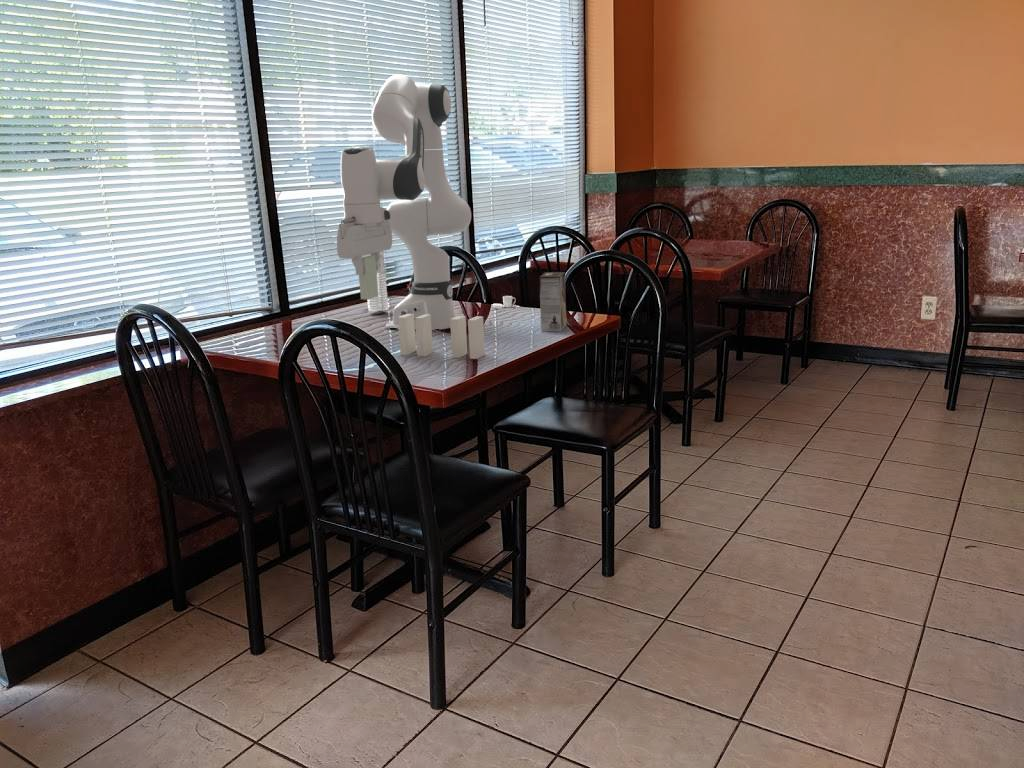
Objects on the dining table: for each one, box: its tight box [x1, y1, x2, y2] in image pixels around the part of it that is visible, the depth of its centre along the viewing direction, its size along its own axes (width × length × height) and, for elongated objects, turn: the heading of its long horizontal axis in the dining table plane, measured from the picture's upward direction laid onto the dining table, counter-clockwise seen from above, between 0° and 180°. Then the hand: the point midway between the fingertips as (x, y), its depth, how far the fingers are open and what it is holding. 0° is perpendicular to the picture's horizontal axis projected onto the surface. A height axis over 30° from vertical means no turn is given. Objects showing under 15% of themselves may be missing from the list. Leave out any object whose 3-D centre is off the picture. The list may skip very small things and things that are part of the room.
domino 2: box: [398, 314, 417, 356], centre depth 219 cm, size 2×5×10 cm, turn 159°
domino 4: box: [450, 315, 468, 359], centre depth 213 cm, size 2×5×10 cm, turn 159°
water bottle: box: [363, 251, 389, 313], centre depth 281 cm, size 7×7×25 cm
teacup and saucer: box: [492, 295, 520, 310], centre depth 280 cm, size 9×8×4 cm
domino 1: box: [358, 256, 378, 300], centre depth 204 cm, size 2×5×10 cm, turn 159°
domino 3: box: [415, 314, 434, 357], centre depth 217 cm, size 2×5×10 cm, turn 159°
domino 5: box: [467, 315, 486, 360], centre depth 211 cm, size 2×5×10 cm, turn 159°
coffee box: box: [538, 271, 567, 332], centre depth 242 cm, size 9×6×16 cm
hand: (367, 272), depth 204 cm, fingers closed on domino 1, 5 cm apart
